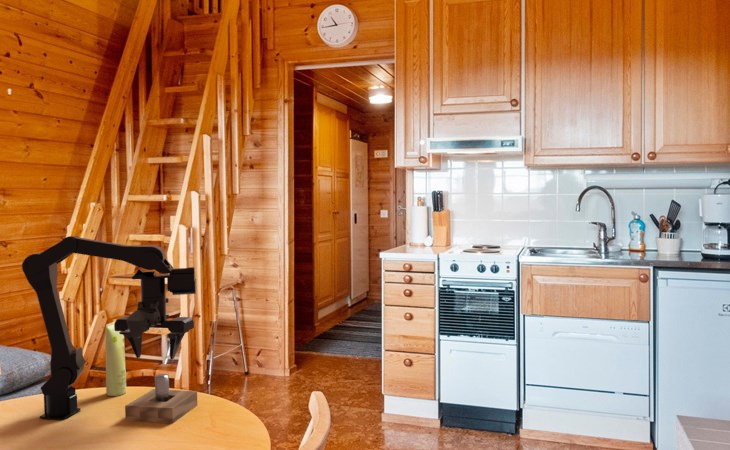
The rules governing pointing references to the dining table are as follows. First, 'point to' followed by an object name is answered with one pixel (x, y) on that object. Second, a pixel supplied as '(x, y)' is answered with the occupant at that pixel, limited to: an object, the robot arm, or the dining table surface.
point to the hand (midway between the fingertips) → (155, 358)
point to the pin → (162, 388)
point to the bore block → (161, 407)
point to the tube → (115, 362)
